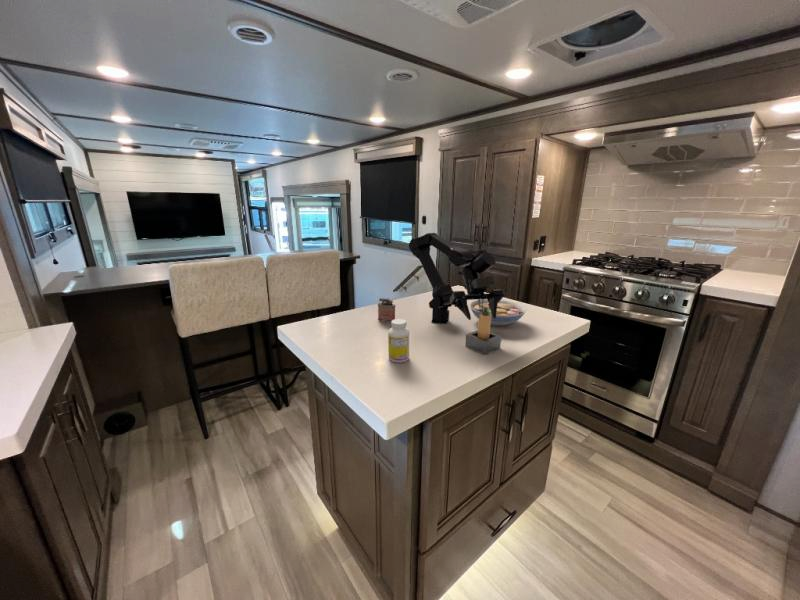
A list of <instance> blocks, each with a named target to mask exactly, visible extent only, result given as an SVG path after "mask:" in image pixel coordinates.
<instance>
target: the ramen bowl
mask: <svg viewBox="0 0 800 600" xmlns="http://www.w3.org/2000/svg"><path fill="white" fill-rule="evenodd" d="M488 304H489V302H488V300H487V299H476V300H471V301H470V303H469V308H470V310H471V312H472V313H473V315H474V317H475V318H477V319H478V320H479V314H480V313H482V311H484V308H485V307H487V311H488V312H489V314H491V325H490V326H495V327H502V326H505V325H511V324H513V323H516V322H517V321H519V320H520V319H521V318H522V317H523V316H524V315H525V313H526V312H527V308H526V306H524V305H523V304H520V303H518V302H514V301H511V300H507V299H501V300H500V301H499V302H498V304H497V312H496V318H495V319H494V318H493V316H492V313H491V311H490V308H489V305H488Z"/></svg>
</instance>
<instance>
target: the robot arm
mask: <svg viewBox="0 0 800 600" xmlns="http://www.w3.org/2000/svg"><path fill="white" fill-rule="evenodd" d="M431 246H432V247H434V248H435V249H437V250H438V251H439V252H441V253H442V254H444V255H445V256H446V257H447V258H448V261H449V262H450V263H451V264H452V265H453V266H455V267H457V268H459V267H463V268H460V270H459V271H458V273H457V274H458V276H462V277H463V281H464V289H465V290H466V291H464V290H456V291H455V290H453V288H452V285H451V284H445V282H444V281H443V279H442V277H441V275H440V273H439V270H438V268H437V266H436V265H435V263H434V260H433V258H432V255H431ZM408 248H409V251H410V252H411V253H412V255H413V256H414V257H415V258H417V259H418V260H419V262H420V264H421V266H422V268H423V270H424V272H425V274H426V276H427V279H428V280H429V283H430V285H431V287H432V292H431V293H432V294H431V296H432V299H431V300H430V301H429V302H428V306H429V309H432V310H431V311H432V314H431V316H432V317H431V323H434V324H441V325H442V324H443V325H444V324H445V325H446V324H448V322H449V321H450V310H449V308H451V307H452V306H453V307H455V308H458V310H459V311H461V313H463V315H464V316H465V318H467V319H468V320H469V321H471V319H472V316H471V312H470V309H469V306H468V301H475V300H479V299H487V300H488V302H489V304H488V305H489V308H490V311H491V313H492V316H493V318H494V319H495V318H496V312H497V304H498V302H499V301H500V300H503V298H504V297H505V291H504V289H499V288H498V289H491V290H490V292H489V293H486V292H487V291H488V289H489V288H491V287H492V286H495V284H496V283H495V278H494V276H493V275H489V276H486V277H481V276H480V274H484V273H485V272H487V271H488V270H489V269H490V268H491V267H494V266H495V264H496V259H495V257H494V256H493V255H492V254H491V253H489V252H488V251H487V250H486V249H481V250H479V251H478V252H477V254H474V253H472V251H471V250H469V249H466V248H463V247H458V246H456V245H454V244H452V243H451V242H449V241H448V240H446V239H444V238H443V237H441V236H440V235H438V234H437V233H436V232H427V233H425V234H424V235H421V236H419V237H416V238H412V239H410V241H409V243H408ZM466 293H467V294H466Z"/></svg>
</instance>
